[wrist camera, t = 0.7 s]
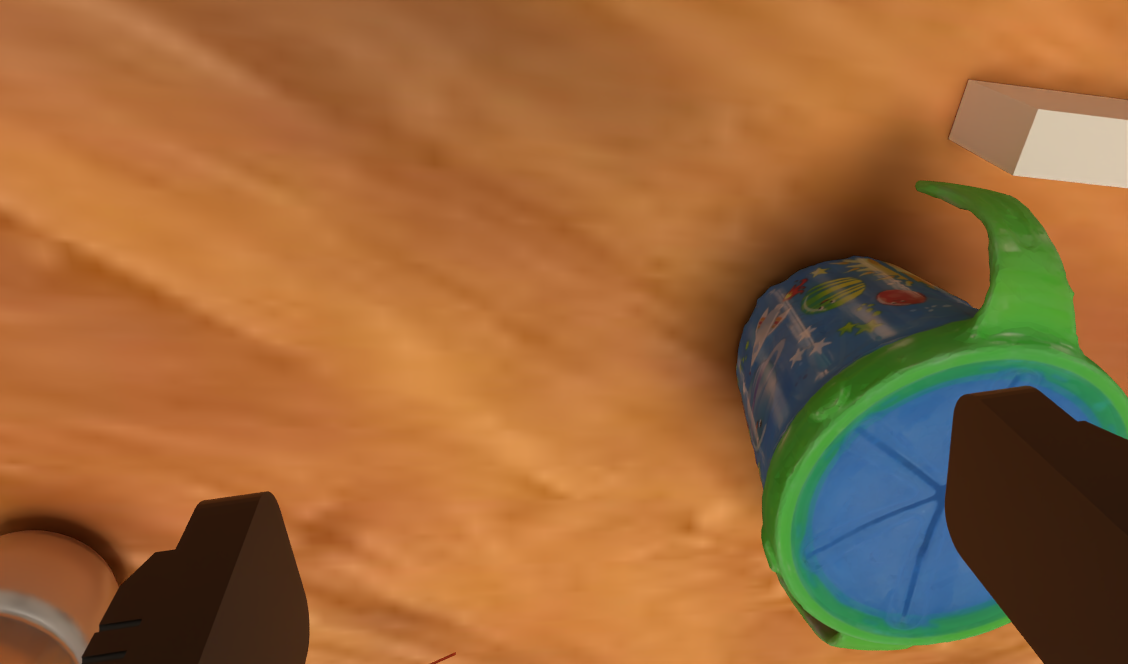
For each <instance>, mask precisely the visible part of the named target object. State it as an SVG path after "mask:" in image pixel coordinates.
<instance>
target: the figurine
mask: <svg viewBox="0 0 1128 664" xmlns="http://www.w3.org/2000/svg"><path fill="white" fill-rule="evenodd" d="M454 655H456V652H455V653H453V654H450V655H448V656H446V657H444V658H441V659H439V660H437V661H435V662H432V663H430V664H436V663H438V662H441V661H443V660H445V659H447V658H450V657H452V656H454Z"/></svg>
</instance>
